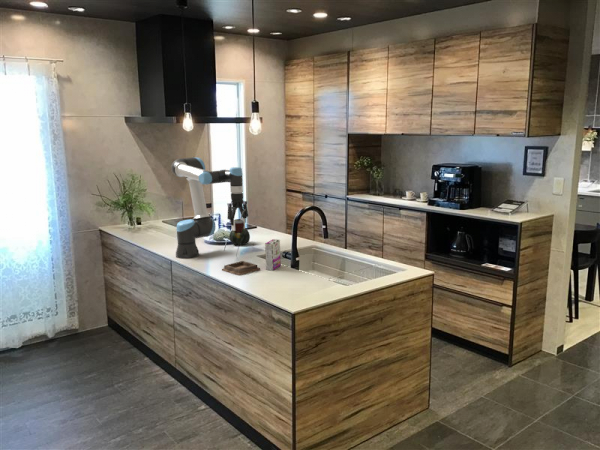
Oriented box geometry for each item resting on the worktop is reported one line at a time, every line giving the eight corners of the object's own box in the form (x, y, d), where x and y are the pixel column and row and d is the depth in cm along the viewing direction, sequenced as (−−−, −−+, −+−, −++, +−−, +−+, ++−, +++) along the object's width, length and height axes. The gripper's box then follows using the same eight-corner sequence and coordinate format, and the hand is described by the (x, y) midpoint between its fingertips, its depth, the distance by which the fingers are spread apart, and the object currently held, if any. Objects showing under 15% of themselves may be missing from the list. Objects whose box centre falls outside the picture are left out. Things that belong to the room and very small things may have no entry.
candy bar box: (273, 265, 316) (272, 239, 313) (280, 265, 314) (280, 239, 311) (265, 270, 306) (264, 243, 302) (273, 270, 304) (272, 243, 301)
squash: (222, 238, 368) (235, 223, 364) (230, 235, 383) (242, 220, 379) (237, 252, 367) (250, 237, 363) (244, 248, 382) (256, 233, 377)
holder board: (221, 270, 307) (221, 265, 306) (243, 264, 318) (243, 260, 317) (238, 275, 295) (238, 270, 295) (259, 269, 306) (259, 264, 306)
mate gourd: (230, 232, 321) (229, 209, 318) (240, 230, 327) (239, 207, 324) (237, 234, 316) (236, 210, 313) (247, 232, 321) (246, 208, 319)
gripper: (227, 195, 307) (229, 232, 311) (253, 191, 320) (254, 227, 325) (219, 194, 312) (221, 231, 316) (245, 190, 326) (247, 226, 330)
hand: (238, 229), depth 321 cm, fingers closed on mate gourd, 7 cm apart
